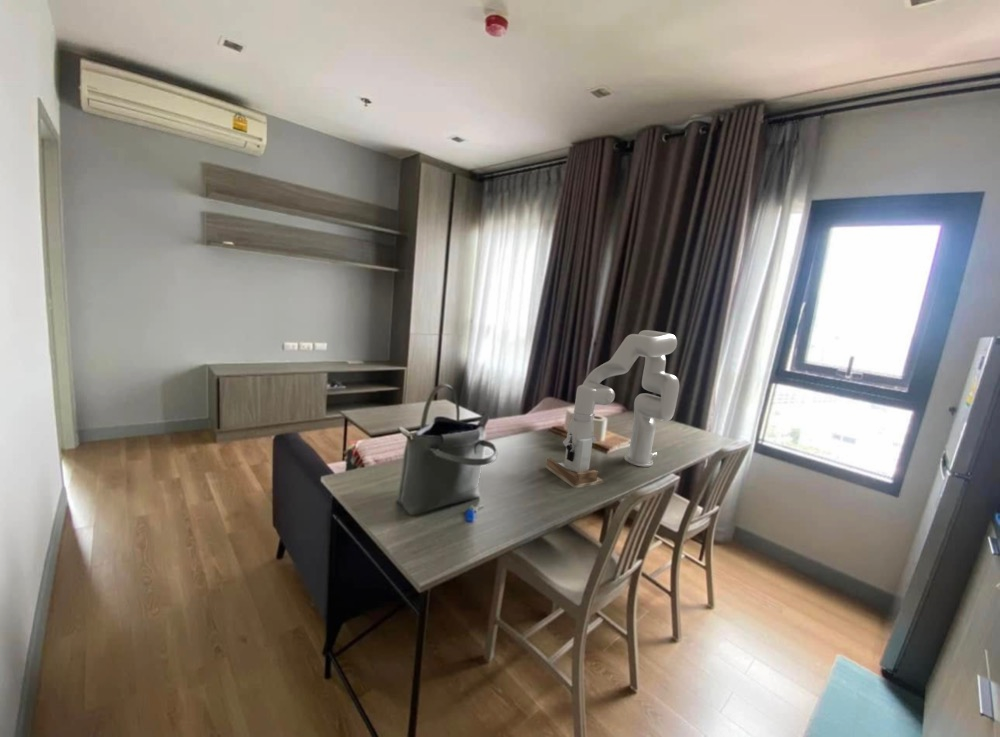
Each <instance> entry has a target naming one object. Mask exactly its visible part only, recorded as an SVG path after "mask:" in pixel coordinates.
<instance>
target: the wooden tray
mask: <svg viewBox="0 0 1000 737" xmlns="http://www.w3.org/2000/svg"><path fill="white" fill-rule="evenodd" d="M564 462H565V461H564ZM564 462H557V461H556V460H554V459H553V458H551V457H547V458H546V463H545V464H546V465H545V468H546V469H547V470H548V471H550V472H551V473H553V474H554V475H555V476H556V477H558V478H560V479H561V480H563V481H564V482H566V483H567V484H568V485H569V486H571V487H572V488H573V489H578V488H585V487H588V486H589V487H590V486H594V485H601V484H603V483H604V479H602V478H600V477H599V476H598V473H599V471H598V470H597V469H593V470H586V471H583V472H579V473H578V472H576V471H574V470H572V469H570V468H568V467H566V466H564Z"/></svg>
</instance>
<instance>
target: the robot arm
mask: <svg viewBox="0 0 1000 737" xmlns="http://www.w3.org/2000/svg"><path fill="white" fill-rule="evenodd" d="M677 345H678V340H677V337H676V336H675V335H674V334H672V333H668V332H664V331H663V332H662V331H656V330H648V329H647V330H646V329H644V330H641V331H639V333H637V334H636V333H631V334H629V335H627V336H626V337H625V338H624V339H623V341H622V342H621V344H620V345H619V346H618V348H617V350H616V351H615V352H614V353H613V355H612V356H611V358H610V360H608V361H606V362H604V363H603V364H600V365H599V366H597V367H595V368H594V369H593V370H592V371H591V372H590V373H588V375H587V376H586V378H585V379H584V380H583V383H582V384H580V385H578V386H577V388H576V393H575V403H574V409H573V416H572V418H571V419H570V422H569V425H568V429H567V434H566V438H565V439H564V440H563V441H562V444H563V446H564V447H565V449H566V448H567V450H568V453H567V459H568V460H570V461H571V462H572V461H573V458H574V452H573V450H574V448H575V447H576V446H577V445H578V441H579V440H581V439H590V438H591V439H593V442H592V447H593V446H594V444H595V443H596V442H597V438H596V437H595V436H594V430H595V429H594V428H595V424H594V417H595V415H596V414H595V412H594V411H595V405H601V406H606V405H610V404H612V403H613V401H614V400H615V398H616V393H615V391H614V390H613V388H611V387H609V386H606V385H603V384H602V381H604V380H606V379H608V378H611V377H615V376H620V375H624V374H626V373H628V372H629V371H630V369H631V368H632V367H633V365H634V363H635V362H636V361H637V359H638V358H639V357H643V358H645V360H644V368H643V372H642V378H641V387H642V388H643V390H646V391H648V392H651V393H654V394H658V395H660V396H657V395H654V394H651V393H639V394H638V395H637V396H636V397H635V399H634V402H633V403H634V404H633V412H634V414H633V415H634V416H633V424H632V431H631V438H630V443H629V448H628V449H629V450H628V453H626V454H625V455H624V457H623V458H624V461H626V462H627V463H629V464H630V465H634V466H636V467H643V468H644V467H645V468H647V467H652V466H654V460H653V458H655V457H658V452H655V451H654V452H652V450H653V445H654V439H655V434H656V420H658V421H661V422H669V421H670V420H672V418H673V417H674V415H675V411H676V407H677V402H678V397H679V392H680V381H679V378H678V377H677V376H676V375H674V374H671V373H668V372H666V365H667V359H666V358H667V357H666V355H670V354H672V353H673V352H674V351H675V350H676V349H677V347H678V346H677ZM571 439H572V440H571ZM570 440H571V441H570ZM569 441H570V443H569V445H568V442H569ZM571 442H572V443H571ZM571 445H572V447H571Z"/></svg>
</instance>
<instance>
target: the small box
mask: <svg viewBox="0 0 1000 737" xmlns="http://www.w3.org/2000/svg"><path fill="white" fill-rule="evenodd" d="M571 440H572V439H571ZM571 440H570V441H571ZM570 441H569V442H568V445H569V443H570ZM592 442H593V439H591V438H590V439H581V440H579V441H578V445H577V446H576V447H575V448H574V450H573V452H574V458H573V461H572V462H571V461H570V460H568V459H567V453H568V450H567V448H566V447H565V455H564V466H566V467H568V468H570V469H572V470H574V471H576V472H578V473H579V472H583V471H586V470H587V471H590V464H591V456H592V450H593V449H592V448H593V446H592ZM571 443H572V442H571ZM571 447H572V445H571Z"/></svg>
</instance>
